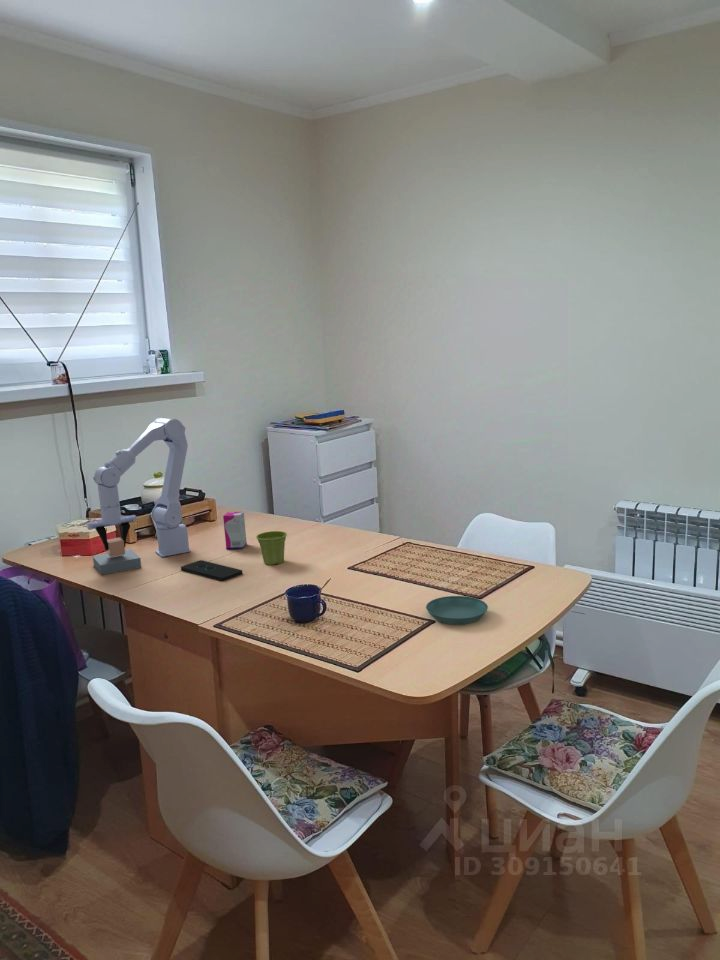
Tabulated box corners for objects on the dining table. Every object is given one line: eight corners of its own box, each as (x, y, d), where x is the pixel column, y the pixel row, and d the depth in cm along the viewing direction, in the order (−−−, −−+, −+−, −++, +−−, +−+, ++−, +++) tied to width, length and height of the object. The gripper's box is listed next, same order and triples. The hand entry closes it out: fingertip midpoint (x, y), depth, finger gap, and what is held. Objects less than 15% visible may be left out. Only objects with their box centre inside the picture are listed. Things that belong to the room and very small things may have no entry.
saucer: (445, 633, 172) (445, 622, 172) (415, 612, 186) (415, 602, 185) (500, 620, 178) (500, 610, 178) (467, 601, 191) (467, 591, 191)
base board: (132, 558, 245) (131, 549, 244) (141, 567, 234) (140, 557, 234) (93, 565, 239) (92, 556, 238) (101, 574, 229) (100, 565, 228)
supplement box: (247, 544, 254) (244, 510, 252) (242, 549, 248) (240, 515, 246) (230, 544, 255) (227, 511, 252) (225, 549, 249) (222, 515, 247)
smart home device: (201, 559, 235) (243, 569, 222) (201, 564, 235) (244, 575, 223) (179, 566, 229) (221, 577, 216) (179, 571, 229) (222, 583, 216)
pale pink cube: (121, 550, 239) (120, 537, 238) (125, 554, 235) (123, 540, 234) (107, 553, 236) (105, 539, 235) (110, 557, 233) (108, 543, 232)
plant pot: (252, 565, 230) (250, 538, 228) (267, 556, 238) (265, 530, 237) (279, 567, 226) (277, 540, 225) (294, 558, 235) (292, 531, 233)
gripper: (88, 511, 226) (93, 555, 229) (136, 504, 233) (141, 546, 236) (83, 507, 232) (89, 550, 235) (131, 500, 239) (136, 541, 242)
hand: (115, 548), depth 236 cm, fingers closed on pale pink cube, 4 cm apart
